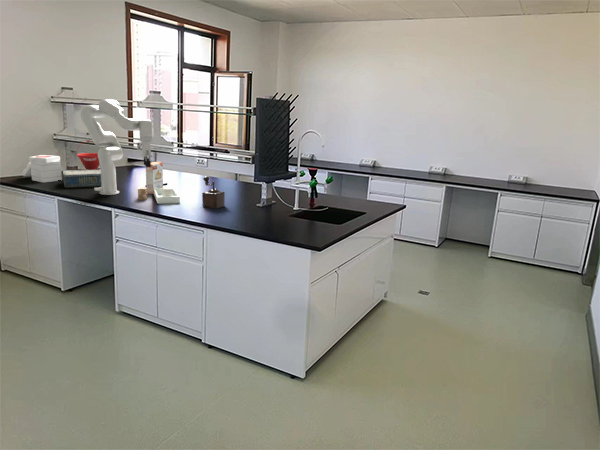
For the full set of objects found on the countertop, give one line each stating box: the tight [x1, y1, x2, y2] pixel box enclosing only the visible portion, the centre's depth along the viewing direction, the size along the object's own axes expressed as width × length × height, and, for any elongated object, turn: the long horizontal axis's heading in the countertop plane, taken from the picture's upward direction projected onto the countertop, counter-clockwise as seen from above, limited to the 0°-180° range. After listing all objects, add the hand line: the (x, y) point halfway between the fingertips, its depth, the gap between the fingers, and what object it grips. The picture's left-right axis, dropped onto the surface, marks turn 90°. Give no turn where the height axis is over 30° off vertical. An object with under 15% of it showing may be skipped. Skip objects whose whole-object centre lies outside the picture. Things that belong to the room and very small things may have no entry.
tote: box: [153, 187, 181, 205], centre depth 304 cm, size 14×30×5 cm, turn 22°
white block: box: [162, 187, 173, 197], centre depth 296 cm, size 6×6×8 cm
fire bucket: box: [75, 140, 103, 170], centre depth 365 cm, size 22×20×30 cm
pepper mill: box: [201, 176, 226, 210], centre depth 291 cm, size 16×11×18 cm
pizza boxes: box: [21, 154, 63, 183], centre depth 353 cm, size 19×30×18 cm, turn 58°
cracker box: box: [145, 161, 164, 195], centre depth 324 cm, size 14×6×21 cm, turn 168°
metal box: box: [62, 168, 101, 189], centre depth 342 cm, size 21×32×10 cm, turn 118°
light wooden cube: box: [137, 187, 147, 201], centre depth 299 cm, size 5×5×8 cm
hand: (147, 165), depth 299 cm, fingers open, 9 cm apart
